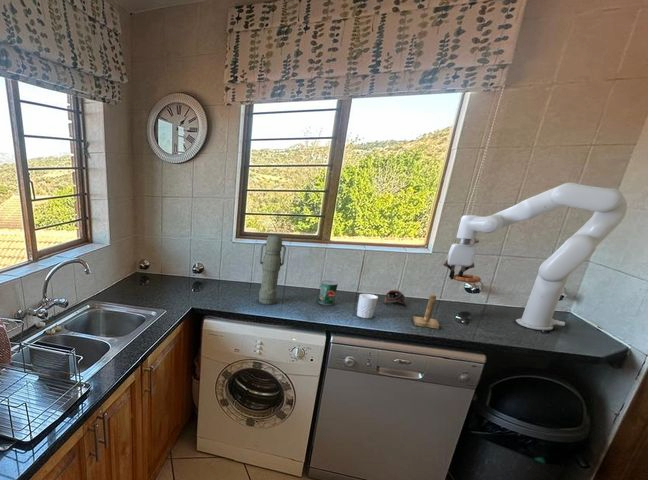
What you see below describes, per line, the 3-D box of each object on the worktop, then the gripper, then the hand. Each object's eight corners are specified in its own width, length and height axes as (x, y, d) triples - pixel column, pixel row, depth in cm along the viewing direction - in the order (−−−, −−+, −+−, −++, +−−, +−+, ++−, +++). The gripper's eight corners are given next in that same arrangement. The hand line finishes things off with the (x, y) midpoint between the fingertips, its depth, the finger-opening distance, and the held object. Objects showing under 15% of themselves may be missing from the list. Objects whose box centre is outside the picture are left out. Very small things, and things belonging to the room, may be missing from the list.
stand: (435, 322, 185) (443, 294, 180) (438, 328, 178) (447, 299, 173) (412, 319, 189) (420, 291, 184) (415, 325, 181) (422, 296, 176)
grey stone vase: (279, 305, 207) (288, 236, 194) (255, 303, 210) (263, 235, 197) (278, 300, 215) (287, 234, 202) (255, 298, 218) (263, 233, 205)
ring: (477, 278, 200) (478, 274, 199) (483, 284, 190) (484, 279, 190) (449, 276, 204) (450, 272, 204) (454, 281, 195) (455, 277, 194)
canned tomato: (331, 306, 206) (335, 285, 202) (316, 303, 211) (319, 282, 207) (335, 302, 212) (339, 282, 208) (320, 299, 217) (323, 279, 213)
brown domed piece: (409, 307, 206) (407, 295, 202) (389, 314, 209) (387, 302, 205) (399, 295, 216) (397, 283, 212) (380, 301, 219) (377, 290, 215)
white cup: (363, 319, 188) (368, 299, 184) (351, 314, 195) (355, 294, 191) (377, 318, 190) (382, 297, 186) (364, 312, 197) (369, 293, 193)
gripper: (483, 241, 192) (473, 279, 199) (443, 239, 199) (434, 276, 206) (487, 243, 186) (476, 282, 193) (446, 241, 193) (436, 279, 199)
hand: (455, 278), depth 199 cm, fingers closed on ring, 2 cm apart
